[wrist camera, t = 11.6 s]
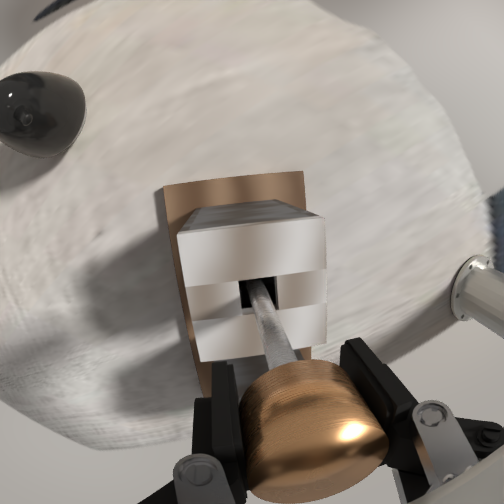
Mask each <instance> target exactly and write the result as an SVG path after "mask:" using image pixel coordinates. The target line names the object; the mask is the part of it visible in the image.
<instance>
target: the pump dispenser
mask: <svg viewBox="0 0 504 504" xmlns="http://www.w3.org/2000/svg"><path fill="white" fill-rule="evenodd" d="M86 111H87V109H86V101H85V96H84V93H83V90H82V88H81V87H80V86H79V84H78V83H77V82H75V81H74V80H72V79H71V78H69V77H66V76H64V75H60V74H56V73H51V72H42V71H29V72H21V73H16V74H13V75H10V76H8V77H6V78H4V79H2V80H0V141H1V142H2V143H4V144H5V145H7V146H8V147H10V148H12V149H13V150H15V151H17V152H19V153H22V154H24V155H27V156H30V157H34V158H50V157H53V156H56V155H58V154H59V153H61V152H62V151H64V150H65V149H66V148H67V147H69V146H70V145H71V144H72V143H73V142H74V141H75V140H76V139H77V137H78V136H79V134H80V132H81V131H82V128H83V126H84V123H85V119H86Z"/></svg>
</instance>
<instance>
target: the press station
mask: <svg viewBox="0 0 504 504" xmlns="http://www.w3.org/2000/svg"><path fill="white" fill-rule="evenodd" d="M163 190H164V198H165V206H166V213H167V221H168V227H169V234H170V241H171V247H172V253H173V259H174V265H175V271H176V276H177V282H178V287H179V292H180V297H181V302H182V307H183V312H184V317H185V322H186V326H187V331H188V336H189V340H190V344H191V349H192V353H193V357H194V361H195V365H196V369H197V373H198V377H199V381H200V385H201V389H202V393H203V396H204V398H205V397H211V381H212V362H220V361H227V365H228V364H233V367H234V373H235V379H236V384H237V390H238V396H239V401H241V398H242V396H243V394H244V392H245V391H246V390H247V388H248V387H249V386H250V385H251V384H252V383H253V382H254V381H255V380H256V379H257V378H259V377H260V376H262V375H263V374H264V373H266V372H268V371H270V370H269V367H268V363H267V359H266V356H265V352H264V348H263V345H262V341H261V337H260V334H259V330H258V326H257V323H256V319H255V315H254V312H253V308H252V304H251V303H249V304H242V305H241V300H240V292H239V284H238V281H240V280H248V279H256V278H264V277H271V276H274V281H275V294H276V300H272V303H273V305H274V307H275V310H276V312H277V314H278V317H279V319H280V321H281V324H282V326H283V328H284V331H285V333H286V335H287V337H288V340H289V342H290V344H291V347H292V349H293V351H294V354H295V356H296V358H297V360H298V361H299V360H311V346H315V345H320V344H325V343H326V336H327V269H326V237H325V218H324V217H321V216H319V215H316V214H314V213H311V212H308V211H306V199H305V186H304V174H303V171H294V172H281V173H268V174H257V175H247V176H237V177H228V178H219V179H211V180H203V181H195V182H188V183H180V184H174V185H167V186H163Z"/></svg>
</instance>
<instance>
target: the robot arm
mask: <svg viewBox="0 0 504 504" xmlns="http://www.w3.org/2000/svg"><path fill="white" fill-rule="evenodd" d="M451 309H452V312H453V314H454V316H455V317H456V318H458V319H459V320H461V321H468V320H471V319H472V318H473V319H475V320H476V321H478V322H479V323H481V324H482V325H484V326H485V327H487V328H488V329H490V330H491V331H493V332H494V333H496V334H497V335H499V336H500V337H502V338H503V339H504V273H502V272H499V271H497V270H495V269H494V267H493V264H492V262H491V260H490V259H489V258H488V257H486V256H483V255H476V256H474V257H472V258H471V259H469V260H468V261H467V262H466V263H465V265H464V266H463V267H462V269H461V270H460V272H459V274H458V276H457V278H456V280H455V283H454V286H453V289H452V294H451ZM340 367H341V368H342V369H344V370H345V371H346V372H347V374H348V375H349V377H350V378H351V380H352V381H353V383H354V384H355V386H356V388H357V389H358V391H359V392H360V394H361V395H362V397H363V399H364V400H365V402H366V403H367V405H368V406H369V408H370V410H371V411H372V413H373V414H374V416H375V418H376V419H377V421H378V422H379V424H380V426H381V427H382V429H383V430H384V432H385V434H386V435H387V437H388V439H389V449H388V452H387V454H386V456H385V458H384V459H383V461H382V462H381V463H380V465H379V466H382V465H384V464H387V466H388V467H391V468H392V472H393V476H394V480H395V483H396V487H397V491H398V494H399V498H400V502H401V504H504V427H502V426H501V425H499V424H497V423H494V422H488V421H479V420H471V419H464V418H457V417H454V415H453V413H452V412H451V410H450V408H449V407H448V406H447V405H445V404H444V403H442V402H440V401H436V400H428V401H424V402H421V403H418V402H417V400H416V399H415V398H414V397H413V395H412V394H411V393H410V392H409V391H408V390H407V388H406V387H405V386H404V385H403V384H402V382H401V381H400V380H399V379H398V377H397V376H396V375H395V374H394V373H393V372H392V370H391V369H390V368H389V367H388V366H387V365H386V364H382V362H381V361H380V360H379V359H378V358H377V356H376V355H375V354H374V353H373V352H372V350H371V349H370V348H369V347H368V346H367V345H366V343H365V342H364V341H363V340H362V339H361V338H360V337H358V338H354V339H350V340H346V341H345V344H344V345H341V351H340ZM239 404H240V401H239V396H238V390H237V384H236V379H235V373H234V367H233V364H228V365H227V361H220V362H212V381H211V397H205V398H196V399H195V402H194V418H193V436H192V455H188V456H186V457H184V458H182V459H180V460H179V461H178V462H177V463H176V465H175V467H174V469H173V478H174V479H173V480H172V481H171V482H169V483H168V484H166V485H165V486H164V487H162V488H161V489H159V490H158V491H156V492H155V493H153V494H152V495H150V496H149V497H147V498H146V499H144V500H142V501H141V502H139V503H138V504H245V503H246V498H247V490H250V489H249V487H248V481H247V473H246V459H245V451H244V444H243V436H242V428H241V419H240V411H239ZM379 466H378V467H379Z"/></svg>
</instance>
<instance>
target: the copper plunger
mask: <svg viewBox="0 0 504 504" xmlns="http://www.w3.org/2000/svg"><path fill="white" fill-rule="evenodd" d="M238 284H239V292H240V300H241V305H242V304H249V303H251V304H252V308H253V312H254V315H255V319H256V323H257V326H258V330H259V334H260V337H261V341H262V345H263V348H264V352H265V356H266V359H267V363H268V367H269V370H270V371H268V372H266V373H264V374H263V375H262V376H260V377H259V378H257V379H256V380H255V381H254V382H253V383H252V384H251V385H250V386H249V387H248V388H247V390H246V391H245V392H244V394H243V396H242V398H241V401H240V404H239V411H240V419H241V428H242V436H243V444H244V451H245V459H246V473H247V481H248V487H249V489H250V491H251V492H252V493H253V494H254V495H255V496H257V497H258V498H260V499H263V500H265V501H269V502H273V503H283V504H295V503H304V502H311V501H315V500H319V499H323V498H326V497H329V496H332V495H335V494H337V493H340V492H342V491H344V490H346V489H348V488H350V487H352V486H354V485H355V484H357V483H359V482H360V481H362V480H363V479H364V478H366V477H367V476H368V475H370V474H371V473H372V472H373V471H374V470H375V469H376V468H377V467H378V466H379V465H380V463H381V462H382V461H383V459H384V458H385V456H386V454H387V452H388V449H389V439H388V437H387V435H386V434H385V432H384V430H383V429H382V427H381V426H380V424H379V422H378V421H377V419H376V418H375V416H374V414H373V413H372V411H371V410H370V408H369V406H368V405H367V403H366V402H365V400H364V399H363V397H362V395H361V394H360V392H359V391H358V389H357V388H356V386H355V384H354V383H353V381H352V380H351V378H350V377H349V375H348V374H347V372H346V371H345V370H344V369H342V368H341V367H340V366H338V365H336V364H334V363H331V362H328V361H324V360H315V359H311V360H299V361H298V360H297V358H296V356H295V354H294V351H293V349H292V347H291V344H290V342H289V340H288V337H287V335H286V333H285V331H284V328H283V326H282V324H281V321H280V319H279V317H278V314H277V312H276V310H275V307H274V305H273V303H272V300H276V294H275V281H274V276H271V277H264V278H256V279H248V280H240V281H238Z"/></svg>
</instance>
